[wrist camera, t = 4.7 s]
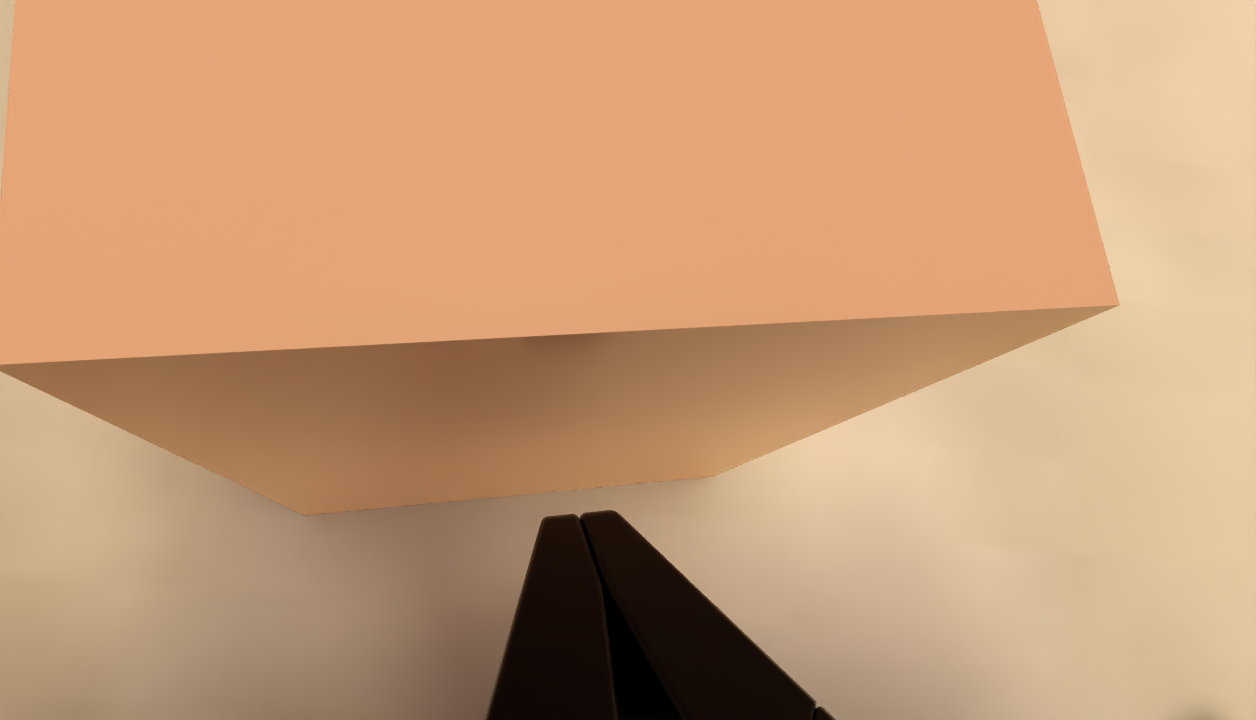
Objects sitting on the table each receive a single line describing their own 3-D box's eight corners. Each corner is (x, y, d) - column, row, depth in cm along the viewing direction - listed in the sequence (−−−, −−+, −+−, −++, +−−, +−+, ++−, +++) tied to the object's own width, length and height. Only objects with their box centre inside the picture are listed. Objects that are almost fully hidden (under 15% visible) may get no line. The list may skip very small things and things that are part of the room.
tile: (713, 475, 17) (1119, 304, 7) (304, 515, 15) (-12, 365, 5) (694, 337, 18) (1033, -13, 7) (301, 360, 16) (21, -60, 6)
